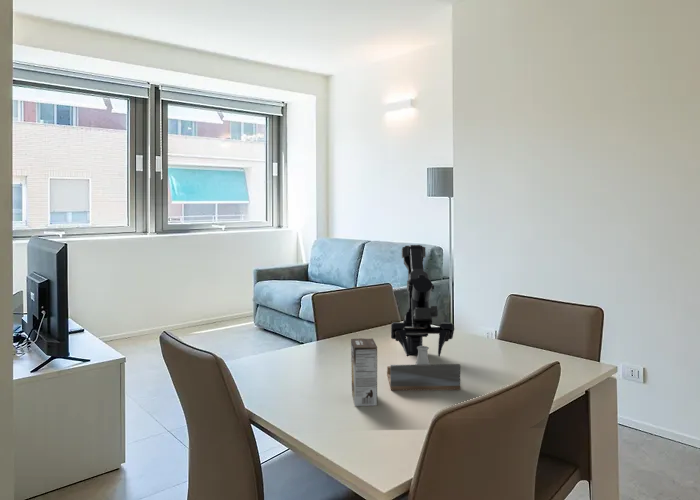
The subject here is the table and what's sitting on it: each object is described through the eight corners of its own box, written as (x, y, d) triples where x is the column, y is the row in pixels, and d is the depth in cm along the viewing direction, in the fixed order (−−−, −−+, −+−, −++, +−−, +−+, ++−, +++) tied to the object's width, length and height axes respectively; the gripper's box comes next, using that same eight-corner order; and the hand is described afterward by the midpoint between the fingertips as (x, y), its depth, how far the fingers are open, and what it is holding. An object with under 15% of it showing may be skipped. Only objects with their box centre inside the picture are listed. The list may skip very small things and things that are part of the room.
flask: (423, 385, 151) (424, 351, 150) (405, 379, 156) (405, 346, 155) (439, 380, 155) (440, 347, 155) (421, 374, 161) (421, 342, 160)
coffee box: (350, 394, 148) (350, 338, 146) (373, 393, 148) (373, 337, 147) (353, 406, 139) (353, 347, 137) (377, 405, 139) (377, 346, 138)
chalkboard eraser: (386, 374, 164) (386, 352, 164) (450, 373, 165) (450, 351, 164) (390, 390, 151) (390, 366, 150) (460, 389, 151) (460, 365, 150)
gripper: (391, 296, 158) (392, 341, 148) (453, 296, 157) (458, 342, 147) (390, 316, 167) (391, 360, 157) (449, 316, 166) (454, 361, 156)
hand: (423, 355), depth 154 cm, fingers open, 9 cm apart
